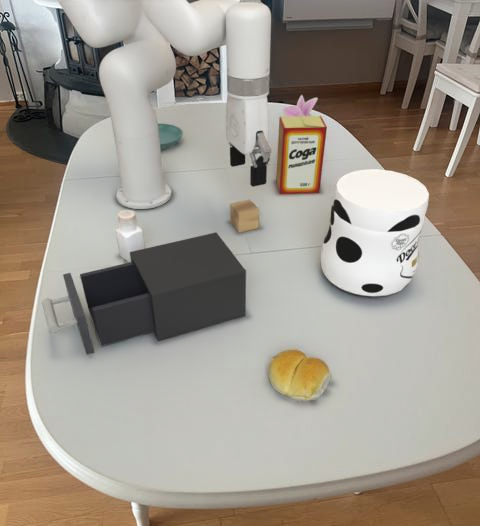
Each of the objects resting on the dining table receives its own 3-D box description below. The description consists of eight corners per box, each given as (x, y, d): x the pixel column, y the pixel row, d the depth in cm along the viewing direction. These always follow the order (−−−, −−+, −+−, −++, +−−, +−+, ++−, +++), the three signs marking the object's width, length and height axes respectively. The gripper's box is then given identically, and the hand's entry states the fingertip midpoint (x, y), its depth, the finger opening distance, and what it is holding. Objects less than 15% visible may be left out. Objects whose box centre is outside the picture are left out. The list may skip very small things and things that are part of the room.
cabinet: (157, 341, 84) (151, 295, 78) (136, 297, 93) (129, 251, 86) (245, 316, 89) (246, 270, 83) (217, 276, 98) (216, 232, 91)
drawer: (58, 362, 79) (46, 324, 74) (47, 318, 87) (35, 280, 82) (175, 329, 85) (171, 292, 80) (155, 290, 93) (150, 253, 88)
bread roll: (284, 353, 82) (285, 334, 80) (335, 375, 79) (339, 357, 76) (256, 385, 77) (257, 367, 74) (310, 411, 73) (313, 393, 71)
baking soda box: (279, 194, 122) (283, 126, 112) (276, 181, 127) (279, 115, 117) (319, 192, 123) (327, 125, 112) (314, 180, 128) (321, 114, 117)
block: (230, 222, 112) (230, 203, 109) (249, 218, 114) (249, 199, 111) (238, 232, 109) (238, 213, 106) (258, 228, 111) (259, 209, 108)
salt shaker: (135, 248, 104) (129, 206, 98) (147, 256, 102) (141, 213, 96) (118, 256, 102) (111, 213, 96) (130, 264, 100) (123, 221, 94)
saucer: (118, 145, 143) (117, 135, 141) (154, 128, 152) (153, 119, 150) (159, 158, 137) (158, 148, 135) (194, 140, 146) (193, 130, 144)
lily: (281, 126, 157) (272, 101, 149) (318, 109, 154) (311, 84, 146) (292, 153, 151) (283, 129, 143) (330, 136, 149) (324, 111, 140)
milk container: (427, 300, 92) (455, 210, 80) (333, 310, 90) (348, 219, 78) (390, 247, 105) (410, 163, 93) (307, 255, 103) (316, 169, 91)
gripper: (210, 74, 97) (214, 161, 108) (249, 102, 85) (248, 197, 96) (247, 69, 99) (246, 155, 111) (289, 95, 88) (284, 189, 99)
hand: (247, 174), depth 104 cm, fingers open, 9 cm apart
